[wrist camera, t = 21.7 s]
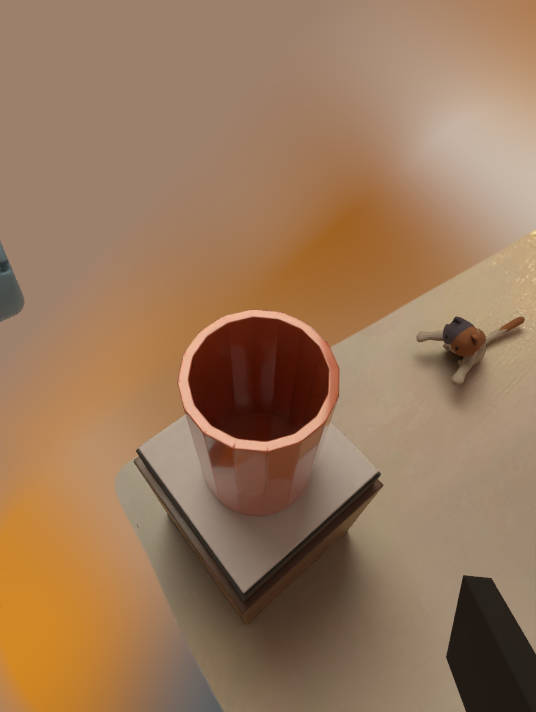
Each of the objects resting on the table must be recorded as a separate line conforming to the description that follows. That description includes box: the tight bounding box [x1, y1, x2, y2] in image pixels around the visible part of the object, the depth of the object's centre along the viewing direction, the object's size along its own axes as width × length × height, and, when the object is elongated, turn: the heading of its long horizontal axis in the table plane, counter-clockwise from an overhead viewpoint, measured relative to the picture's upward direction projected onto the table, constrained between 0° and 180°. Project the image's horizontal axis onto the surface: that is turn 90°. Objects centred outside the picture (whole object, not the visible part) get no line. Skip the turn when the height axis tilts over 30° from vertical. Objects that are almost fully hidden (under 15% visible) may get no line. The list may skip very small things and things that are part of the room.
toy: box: [417, 317, 525, 385], centre depth 57 cm, size 8×15×8 cm, turn 119°
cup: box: [177, 309, 339, 516], centre depth 28 cm, size 7×7×12 cm
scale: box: [136, 414, 381, 602], centre depth 34 cm, size 12×12×3 cm
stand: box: [134, 457, 383, 624], centre depth 42 cm, size 13×13×16 cm
